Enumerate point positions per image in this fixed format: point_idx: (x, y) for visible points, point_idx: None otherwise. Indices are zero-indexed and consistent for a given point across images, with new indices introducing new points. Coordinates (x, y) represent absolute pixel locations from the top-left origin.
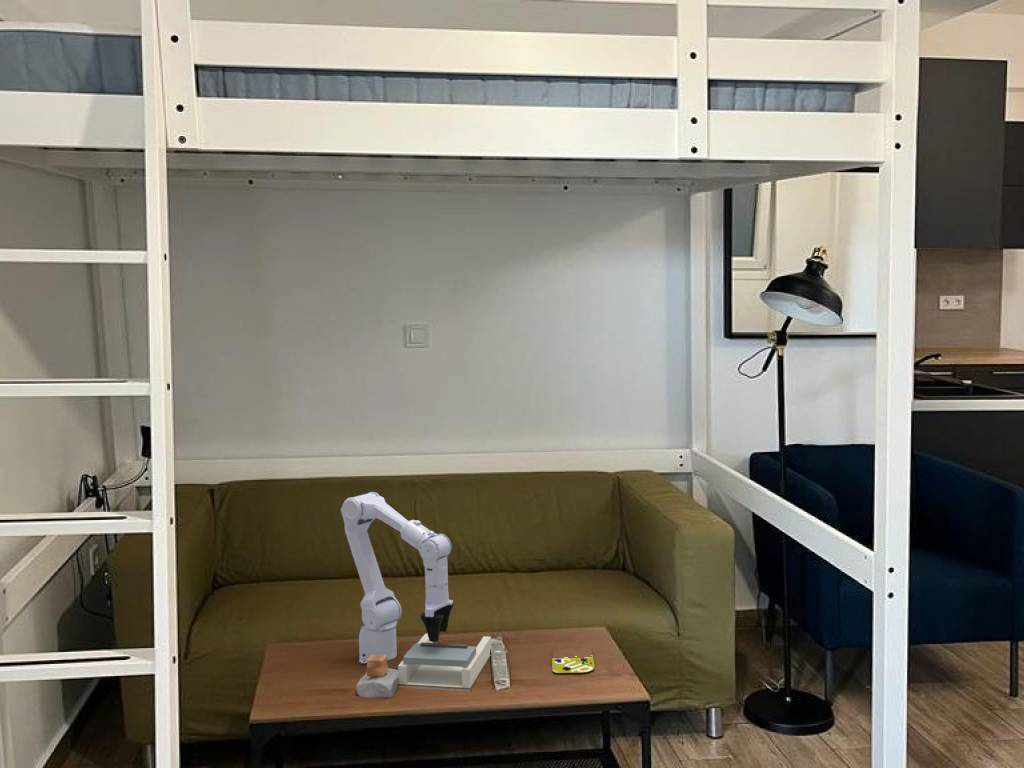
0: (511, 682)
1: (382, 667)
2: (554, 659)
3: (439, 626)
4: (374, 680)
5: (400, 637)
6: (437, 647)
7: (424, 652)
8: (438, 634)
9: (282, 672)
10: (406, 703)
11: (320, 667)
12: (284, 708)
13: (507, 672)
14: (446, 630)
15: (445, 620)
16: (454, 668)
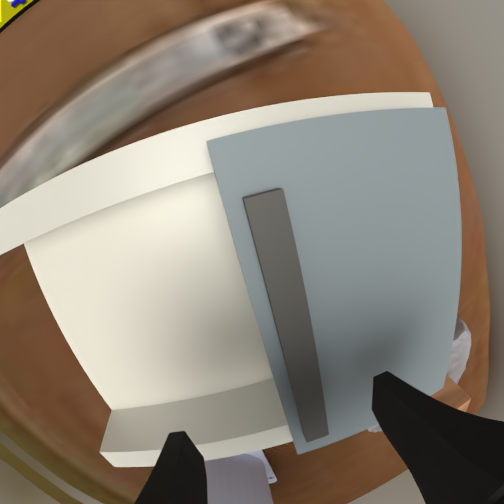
0: (230, 5)
1: (459, 388)
2: (12, 12)
3: (463, 423)
4: (461, 370)
5: (94, 476)
6: (320, 367)
7: (397, 369)
8: (421, 392)
9: (348, 497)
10: (471, 256)
11: (315, 492)
12: (469, 407)
13: (134, 58)
14: (171, 435)
15: (178, 498)
16: (223, 264)
